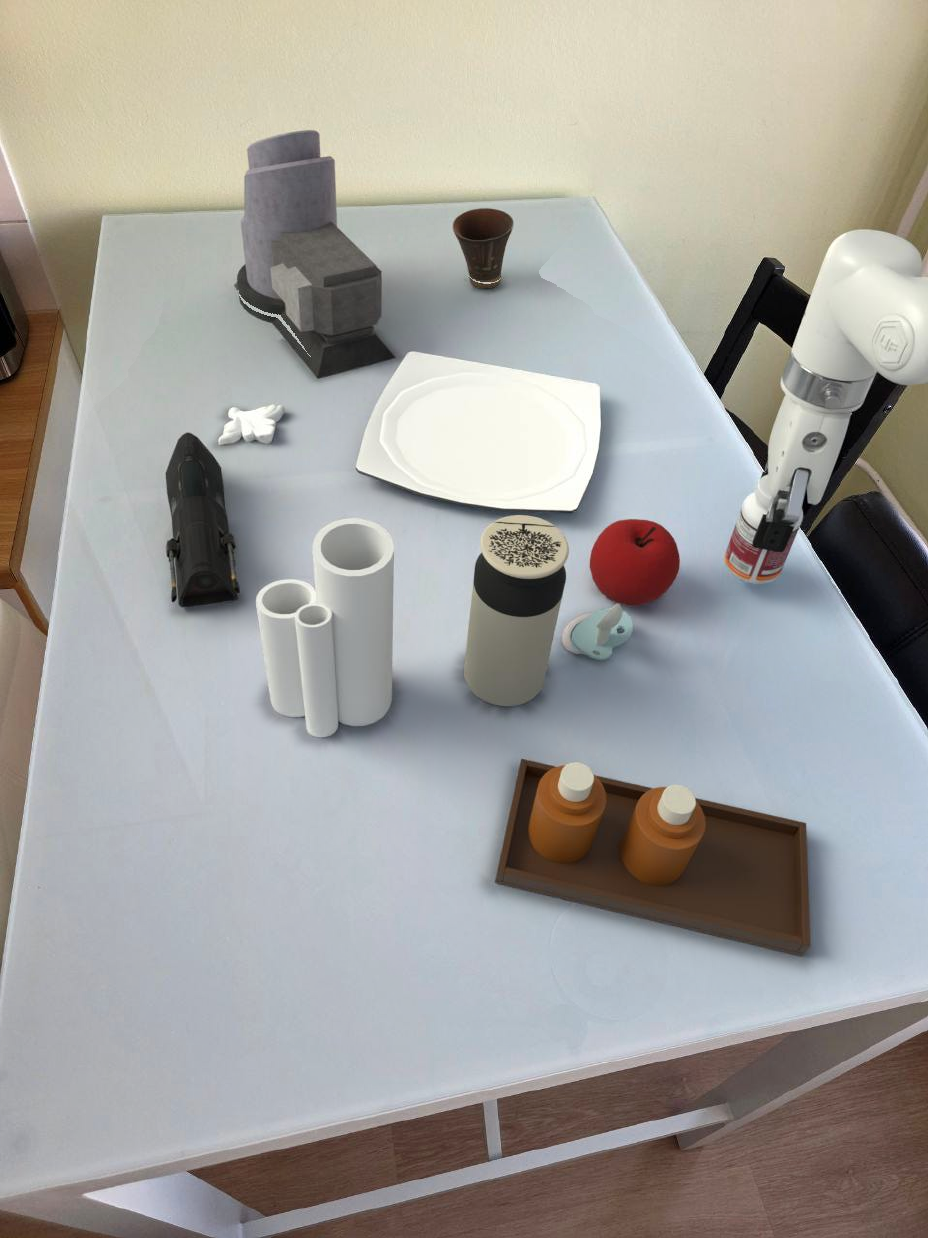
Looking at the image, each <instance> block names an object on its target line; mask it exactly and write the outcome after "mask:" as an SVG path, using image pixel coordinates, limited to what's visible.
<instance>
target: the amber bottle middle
mask: <svg viewBox="0 0 928 1238" xmlns="http://www.w3.org/2000/svg"><path fill="white" fill-rule="evenodd" d="M695 798H696V797H695V795H694V793H693V792H692V791H691V790H690V789H689V788H687V786H684V785H681V784H671V785H669V786H658V787H654V789H651V790H649V791H647V792H646V793H644V794H643V795H642V796H641V798H640V799H639V801H638V803H637V805H636V808H635V810H634V813H633V815H632V817H631V820H630V822H629V825H628V827H627V830H626V832H625V835H624V837H623V839H622V842H621V846H620V853H621V858H622V861H623V863H624V865H625V867H626V868H627V870H628V871H629V872H630V873H631V874H632V875H633V876H634V877H635V878H637V879H638V880H640V881H642V882H644V883H647V884H650V885H666V884H670V883H672V882H674V881H675V880H677V879H678V878H679V877H680V876H681V875H682V873H683V871H684V869H685V868H686V866H687V864H688V862H689V860H690V858H691V857H692V855H693V853H694V851H695V849H696V847H697V846H698V844H699V842H700V840H701V838H702V836H703V834H704V832H705V826H706V822H705V816H704V813H703V811H702V809H701V807H700V806H699V804H698V803H697V802H696V799H695Z"/></svg>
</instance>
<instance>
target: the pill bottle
mask: <svg viewBox="0 0 928 1238" xmlns="http://www.w3.org/2000/svg"><path fill="white" fill-rule="evenodd" d="M760 478H761V477H760ZM789 489H790V487H789V486H787V487H785V488H784V489H783V491H789ZM771 498H772V495H771V493H770V492H769V482H768V475H765V476H763V477H762V478H761V479H758V482H757V485H756V487H755V490H754V491H752V492H750V494H748V495H747V496H746V497H745V498H744V500H743V502H742V505H741V507H740V511H739V513H738V517H737V520H736V521H735V525H734V528H733V530H732V534H731V536H730V539H729V541H728V545H727V547H726V551H725V554H724V564H725V567H726V569H727V570H728V572H729V573H730V574H731V575H732V576H733V577H734V578H735V579H738V580H739V581H741V582H745V583H746V584H747V583H748V584H752V585H764V584H769V583H772V582H774V581H775V580H776V579H777V578H778V577H779V576H780V575H781V573H782V570H783V568H784V566H785V564H786V561H787V558H788V556H789V554H790V551H791V549H792V546H793V544H794V542H795V539H796V537H797V535H798V532H799V530H800V528H801V525H802V522H803V519H804V510H803V508H802V509H801V514H800V518H799V520H798V522H797V523H796V525H795V527H794V529H793V531H792V534H791V536H790V538H789V541H788V543H787V545H786V548H785V550H784V551H783V552H775V551H770V550H765V549H759V548H755V547H753V545H752V543H753V539H754V536H755V534H756V531H757V529H758V526H759V524H760V521H761V518H762V516H763V514H765V515H767V512H768V508H769V505H770V501H771ZM786 503H787V500H785V499H779V502H778V505H777V508H776V510H777V509H784V508H785V506H786Z"/></svg>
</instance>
